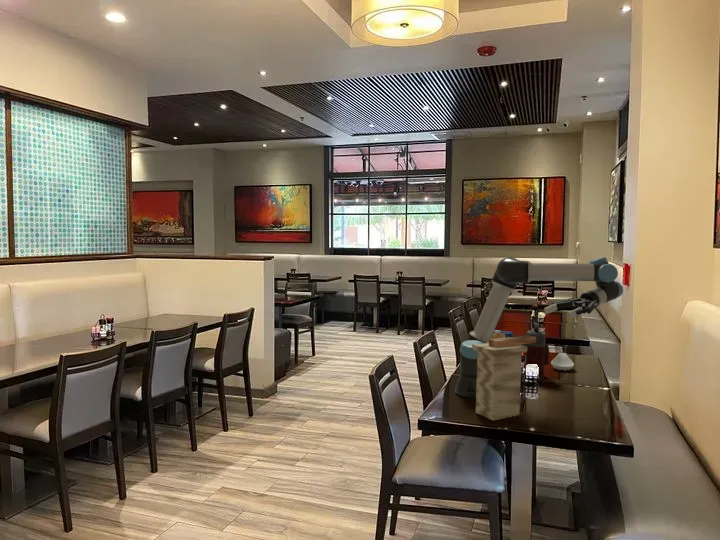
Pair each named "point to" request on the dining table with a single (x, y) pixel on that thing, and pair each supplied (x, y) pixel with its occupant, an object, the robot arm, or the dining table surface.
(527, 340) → the strip
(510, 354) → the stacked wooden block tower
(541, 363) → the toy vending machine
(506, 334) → the beverage box
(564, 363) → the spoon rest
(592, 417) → the dining table surface
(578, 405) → the dining table surface
